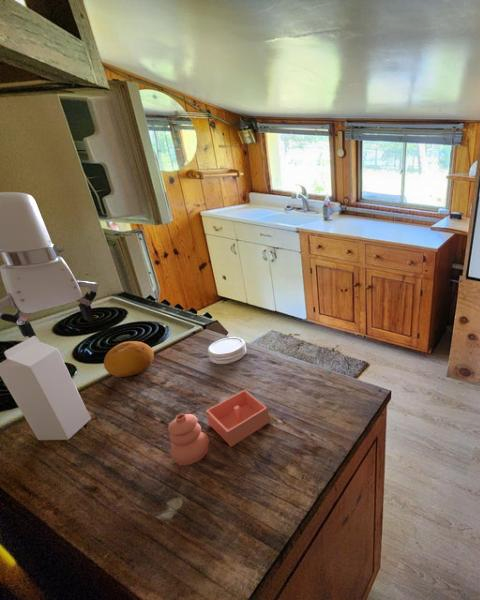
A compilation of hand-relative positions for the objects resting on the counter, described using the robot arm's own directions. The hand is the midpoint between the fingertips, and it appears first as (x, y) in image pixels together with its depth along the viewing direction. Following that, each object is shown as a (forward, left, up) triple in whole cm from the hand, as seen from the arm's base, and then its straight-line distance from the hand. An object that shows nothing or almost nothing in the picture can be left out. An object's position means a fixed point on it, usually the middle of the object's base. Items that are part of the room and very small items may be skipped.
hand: (62, 328), depth 74 cm
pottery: (+40, +8, -18) cm, 44 cm away
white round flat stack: (+15, +28, -18) cm, 36 cm away
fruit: (0, +10, -18) cm, 21 cm away
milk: (+10, -8, -18) cm, 22 cm away
